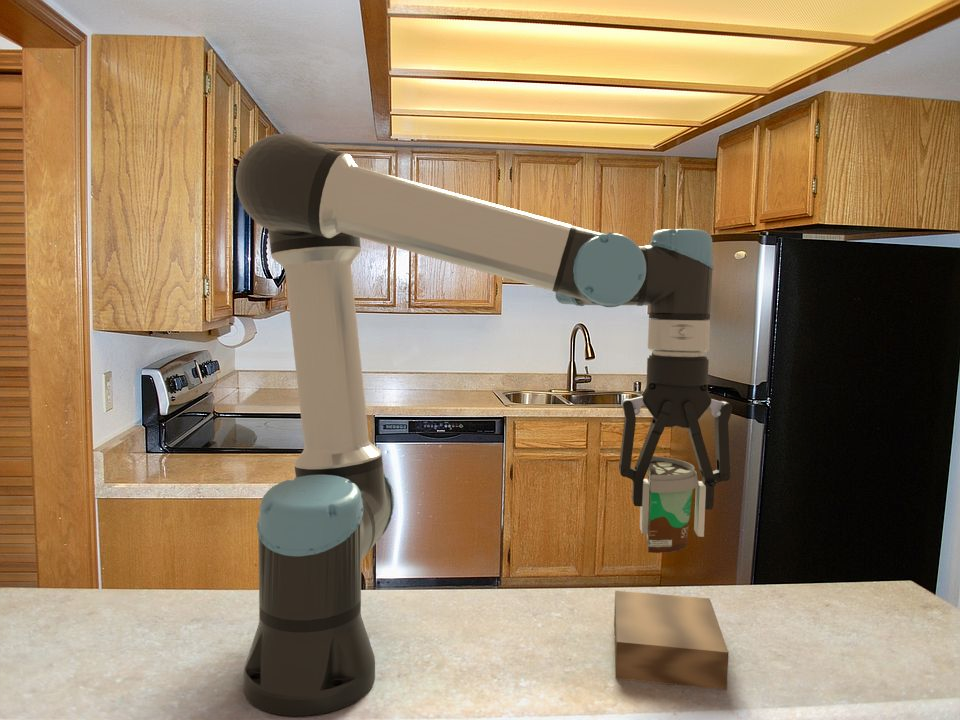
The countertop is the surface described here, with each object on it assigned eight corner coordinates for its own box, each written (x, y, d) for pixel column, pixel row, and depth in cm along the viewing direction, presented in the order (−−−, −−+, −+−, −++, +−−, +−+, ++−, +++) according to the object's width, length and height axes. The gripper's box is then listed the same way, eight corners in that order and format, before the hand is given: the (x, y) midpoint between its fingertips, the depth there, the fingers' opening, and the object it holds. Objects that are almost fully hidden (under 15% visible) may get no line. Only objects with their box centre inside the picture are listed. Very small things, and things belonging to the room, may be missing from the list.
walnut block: (615, 681, 89) (616, 641, 89) (614, 624, 105) (615, 590, 104) (726, 692, 87) (728, 652, 87) (708, 633, 103) (709, 598, 102)
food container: (700, 560, 88) (704, 478, 87) (648, 556, 89) (651, 475, 88) (691, 529, 100) (694, 457, 99) (645, 526, 101) (648, 454, 100)
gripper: (602, 353, 90) (597, 537, 92) (764, 357, 88) (755, 545, 90) (599, 349, 98) (594, 519, 99) (749, 353, 95) (741, 526, 97)
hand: (671, 531), depth 95 cm, fingers closed on food container, 6 cm apart
